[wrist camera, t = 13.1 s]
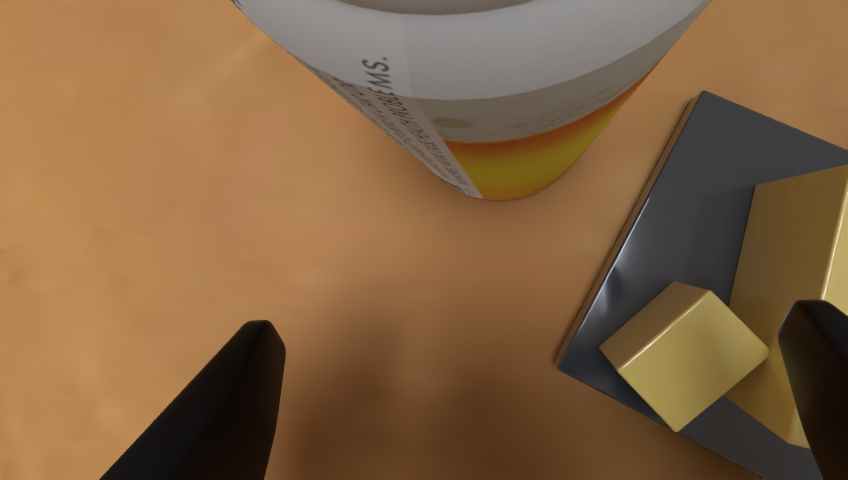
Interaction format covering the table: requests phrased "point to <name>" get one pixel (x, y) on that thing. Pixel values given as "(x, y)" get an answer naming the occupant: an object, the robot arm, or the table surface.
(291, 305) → the table surface
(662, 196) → the cheese
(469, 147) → the beer can
